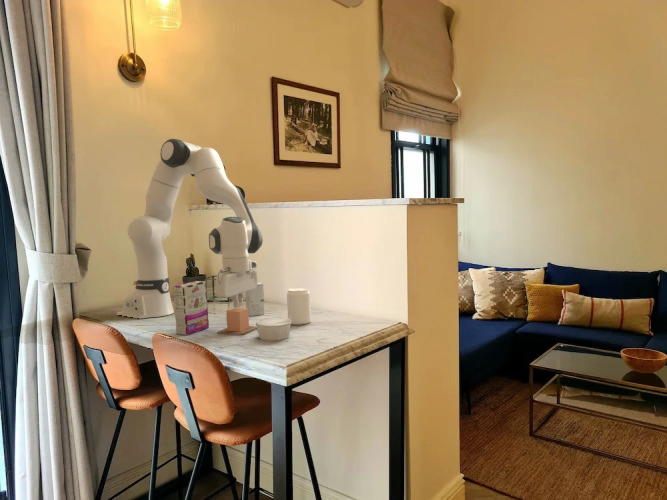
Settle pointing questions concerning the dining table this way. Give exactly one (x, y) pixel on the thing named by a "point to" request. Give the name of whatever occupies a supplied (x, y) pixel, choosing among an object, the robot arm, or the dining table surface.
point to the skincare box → (255, 300)
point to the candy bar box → (191, 307)
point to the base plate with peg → (250, 329)
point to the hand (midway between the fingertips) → (238, 306)
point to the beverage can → (299, 306)
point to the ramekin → (273, 328)
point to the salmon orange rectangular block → (237, 319)
